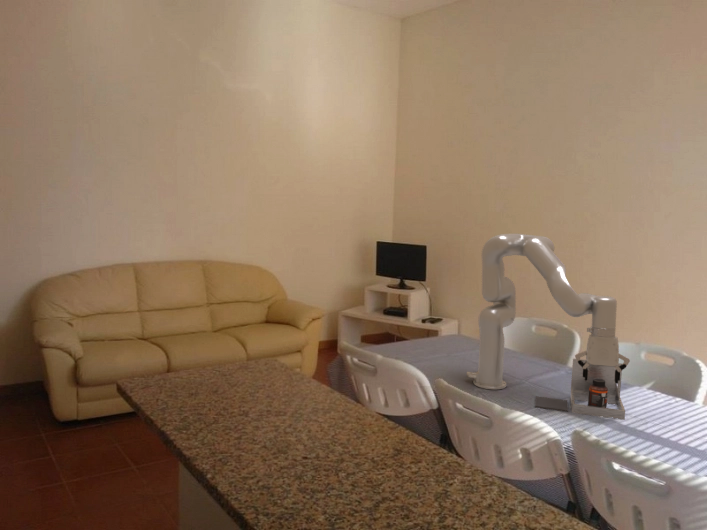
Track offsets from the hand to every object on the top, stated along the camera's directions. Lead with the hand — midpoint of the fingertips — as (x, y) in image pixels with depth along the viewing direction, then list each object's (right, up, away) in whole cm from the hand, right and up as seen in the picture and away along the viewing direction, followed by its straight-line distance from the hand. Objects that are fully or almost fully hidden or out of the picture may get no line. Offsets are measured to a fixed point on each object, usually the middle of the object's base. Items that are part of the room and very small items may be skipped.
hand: (600, 380), depth 196 cm
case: (0, -11, +4) cm, 12 cm away
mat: (-15, -10, +7) cm, 19 cm away
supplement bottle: (-1, -11, +2) cm, 11 cm away
